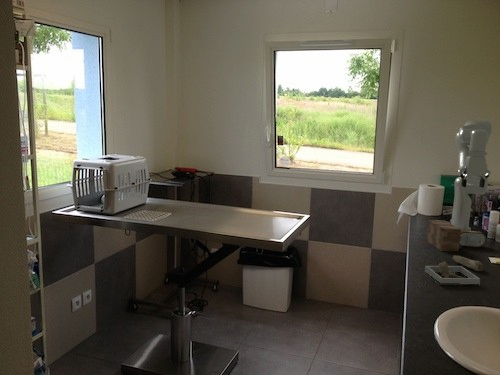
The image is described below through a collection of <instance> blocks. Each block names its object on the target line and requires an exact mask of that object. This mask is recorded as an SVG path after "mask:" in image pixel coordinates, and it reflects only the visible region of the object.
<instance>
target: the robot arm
mask: <svg viewBox="0 0 500 375" xmlns="http://www.w3.org/2000/svg"><path fill="white" fill-rule="evenodd" d="M492 126H493V125H492V123H491V121H488V120H468V121H466V122H465V124H464V125H462V126H461V127H460V128H459V130H458V132H456V135H455V137H454V138H455V139H454V140H455V147H456V149H457V153H458V157H457V158H458V159H457V160H458V161H457V173H458V177H456V178H455V180H454V184H453V186H454V197H453V207H452V213H451V219H450V220H449V223H450V224H452V225H454V226H456V227H458V228H460V229H461V230H471V231H472V228H471V227H470V226H469V225H470V219H471V218H470V217H471V210H472V209H471V208H472V199H471V197H470V196H469V194H470V195H471V194H472V195H473V194H474V195H485V194H486V193H487V191H488V179H489V177H490V175H491V173H492V171H490V170H488V169H489V167H488V164H487V160H486V159H487V158H486V156H487V155H488V152H487V151H486V150H487V144H488V141H489V139H490V137H491V135H492V130H493V127H492Z"/></svg>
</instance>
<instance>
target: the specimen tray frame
mask: <svg viewBox="0 0 500 375" xmlns="http://www.w3.org/2000/svg"><path fill="white" fill-rule="evenodd" d="M448 267H449V269H451V270H452V271H453V272H461V273H462V274H464V275H465V276H467V277H468V278H466V277H465V276H464V277H463V278H452V277H449V278H444V277H443V276H441V275H439V273H435V272H440V271H441V268H440V267H439V265H425V266H424V273H425V272H426V273H428V274H429V275H430V276H432V277H433V278H434V279H436V280H437V281H439V282H440V283H460V284H479V285H480V283H481V277H478V276H477V275H475V274H474V273H473V272H471V271H469V270H468V269H466V267H465V266H463V265H448ZM426 273H425V274H426ZM462 274H461V275H462ZM430 276H429V277H430Z"/></svg>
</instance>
